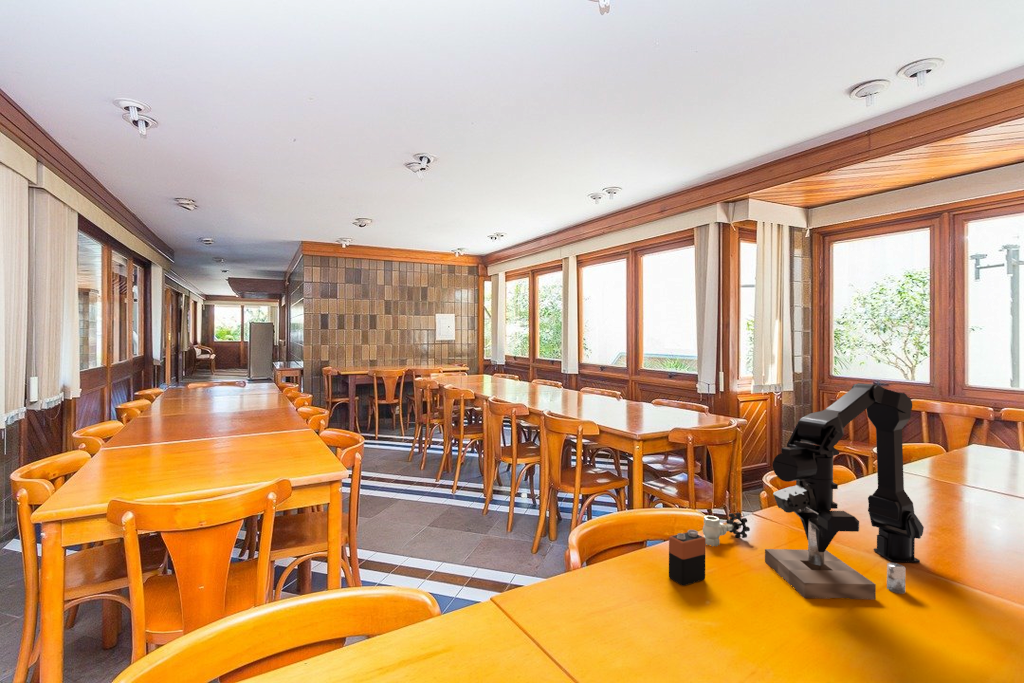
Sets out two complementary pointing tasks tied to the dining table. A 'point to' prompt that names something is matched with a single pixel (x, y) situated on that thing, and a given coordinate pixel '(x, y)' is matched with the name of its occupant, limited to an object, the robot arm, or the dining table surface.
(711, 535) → the valve
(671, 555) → the battery
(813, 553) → the long pin
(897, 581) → the short pin
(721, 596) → the dining table surface
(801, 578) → the hole plate
